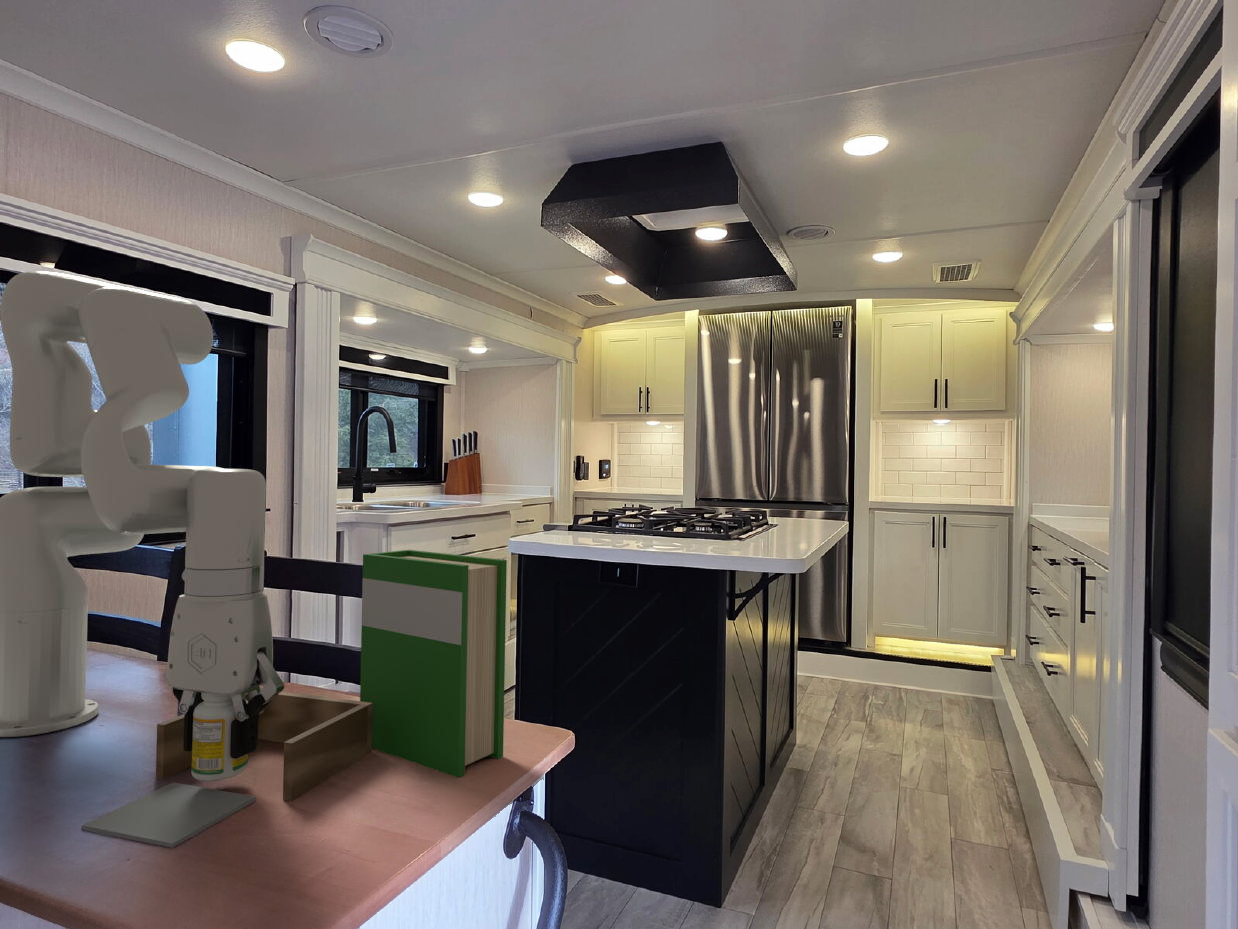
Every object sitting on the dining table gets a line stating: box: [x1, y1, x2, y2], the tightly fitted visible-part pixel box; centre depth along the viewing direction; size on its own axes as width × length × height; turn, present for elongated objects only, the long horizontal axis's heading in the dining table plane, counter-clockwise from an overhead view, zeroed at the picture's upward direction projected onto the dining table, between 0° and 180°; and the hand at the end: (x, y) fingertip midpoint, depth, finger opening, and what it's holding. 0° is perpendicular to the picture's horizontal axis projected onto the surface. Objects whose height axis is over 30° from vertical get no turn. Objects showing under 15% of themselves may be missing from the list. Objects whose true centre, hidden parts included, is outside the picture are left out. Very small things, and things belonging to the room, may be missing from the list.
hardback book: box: [359, 549, 508, 778], centre depth 90 cm, size 18×7×24 cm, turn 57°
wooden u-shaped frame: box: [155, 688, 373, 802], centre depth 84 cm, size 18×14×6 cm
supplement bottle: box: [191, 693, 249, 782], centre depth 78 cm, size 5×5×10 cm
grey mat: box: [80, 782, 257, 849], centre depth 72 cm, size 11×10×1 cm
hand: (220, 748), depth 78 cm, fingers closed on supplement bottle, 5 cm apart
